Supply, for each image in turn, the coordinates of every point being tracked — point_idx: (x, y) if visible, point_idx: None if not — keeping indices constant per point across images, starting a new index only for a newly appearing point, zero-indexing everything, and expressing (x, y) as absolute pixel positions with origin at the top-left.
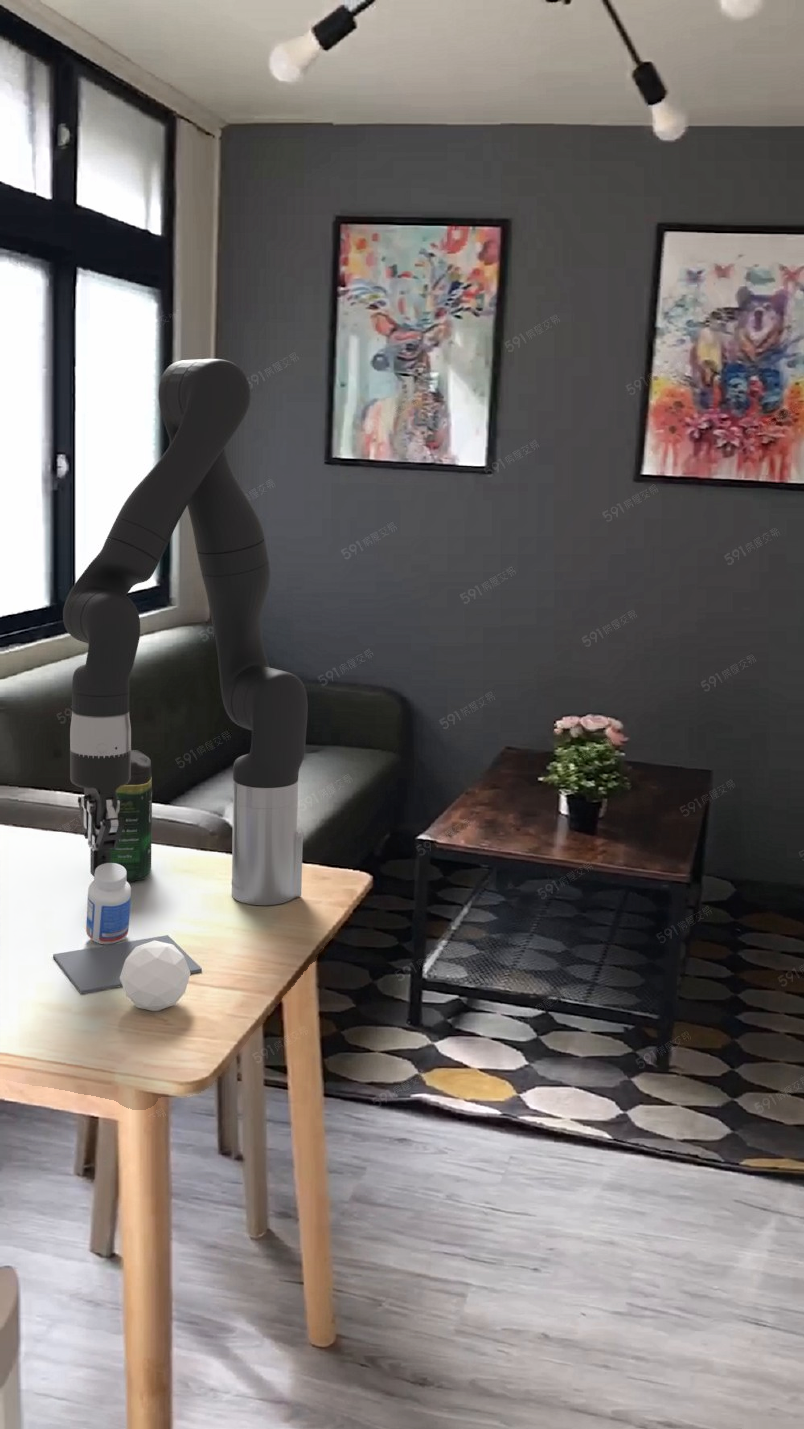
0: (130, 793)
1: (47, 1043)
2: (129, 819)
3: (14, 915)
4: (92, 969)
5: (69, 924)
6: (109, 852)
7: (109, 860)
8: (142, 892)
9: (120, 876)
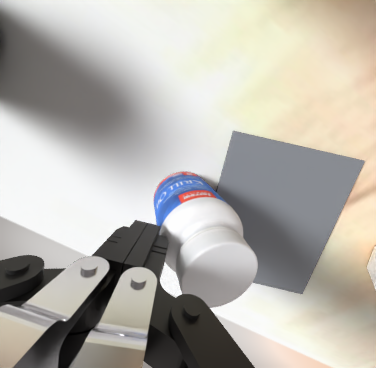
0: None
1: (364, 355)
2: None
3: (56, 239)
4: (262, 259)
5: (114, 206)
6: (144, 263)
7: (150, 246)
8: (47, 56)
9: (249, 263)
